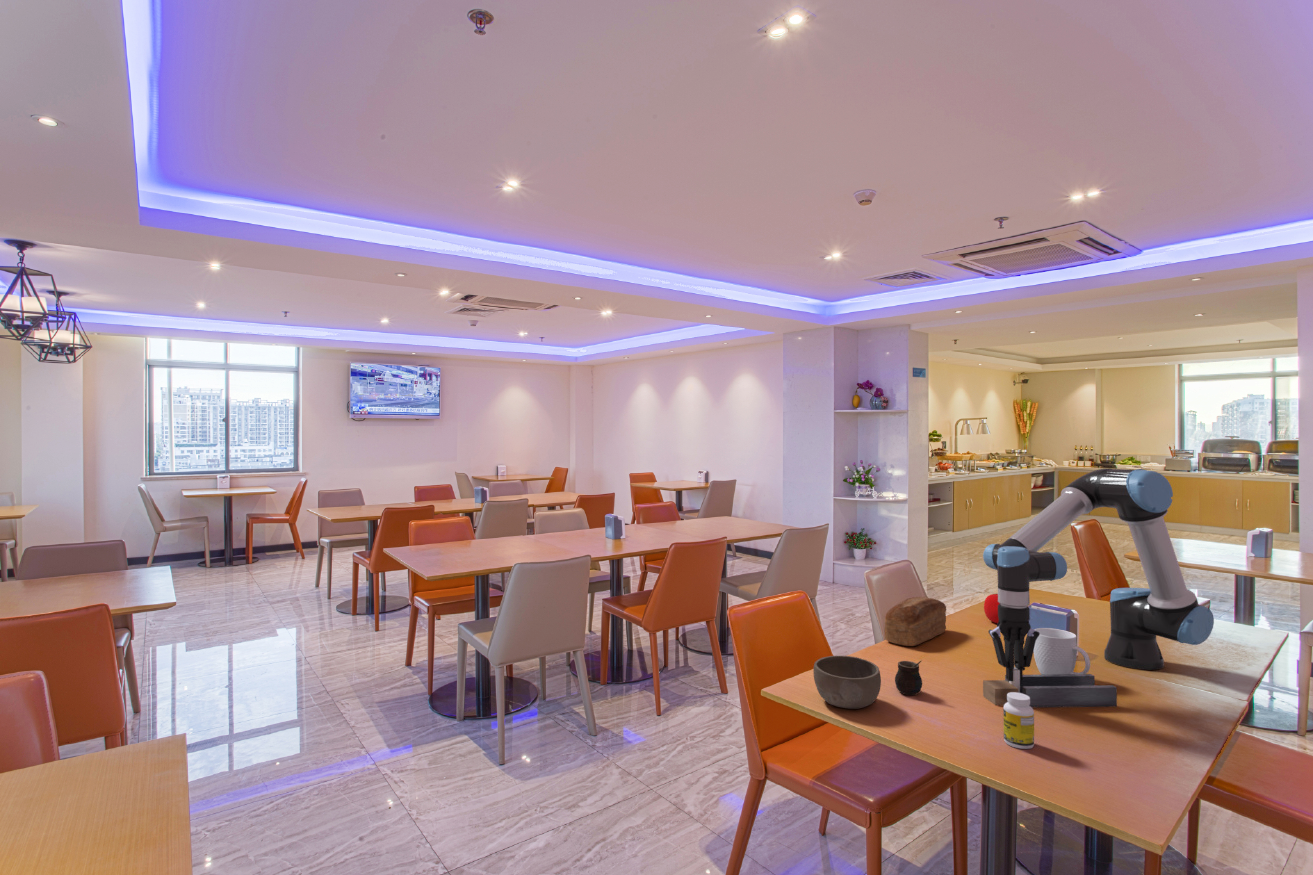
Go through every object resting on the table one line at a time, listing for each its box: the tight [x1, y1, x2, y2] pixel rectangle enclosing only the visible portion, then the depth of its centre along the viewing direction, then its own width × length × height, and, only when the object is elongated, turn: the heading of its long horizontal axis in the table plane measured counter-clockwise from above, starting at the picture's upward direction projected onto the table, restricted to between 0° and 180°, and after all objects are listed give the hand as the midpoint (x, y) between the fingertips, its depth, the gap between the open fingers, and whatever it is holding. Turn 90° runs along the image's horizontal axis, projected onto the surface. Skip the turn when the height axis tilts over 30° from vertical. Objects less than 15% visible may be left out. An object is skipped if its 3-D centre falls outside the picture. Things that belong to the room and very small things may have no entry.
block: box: [982, 679, 1018, 706], centre depth 176 cm, size 6×6×4 cm
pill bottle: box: [1003, 692, 1035, 750], centre depth 151 cm, size 6×6×11 cm
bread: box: [884, 596, 947, 647], centre depth 234 cm, size 12×31×14 cm, turn 134°
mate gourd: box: [894, 660, 923, 696], centre depth 182 cm, size 7×8×10 cm
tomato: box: [983, 592, 1000, 624], centre depth 251 cm, size 13×14×12 cm
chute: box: [1004, 673, 1118, 709], centre depth 177 cm, size 24×10×5 cm, turn 91°
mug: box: [1033, 627, 1091, 675], centre depth 192 cm, size 15×11×13 cm
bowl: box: [812, 655, 882, 710], centre depth 176 cm, size 17×18×10 cm
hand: (1014, 692), depth 176 cm, fingers closed
